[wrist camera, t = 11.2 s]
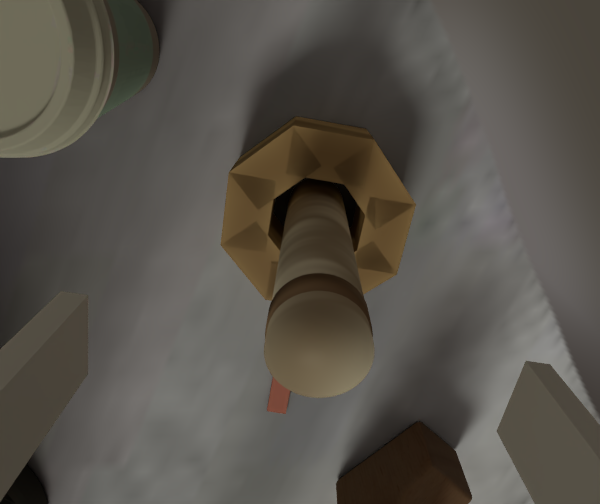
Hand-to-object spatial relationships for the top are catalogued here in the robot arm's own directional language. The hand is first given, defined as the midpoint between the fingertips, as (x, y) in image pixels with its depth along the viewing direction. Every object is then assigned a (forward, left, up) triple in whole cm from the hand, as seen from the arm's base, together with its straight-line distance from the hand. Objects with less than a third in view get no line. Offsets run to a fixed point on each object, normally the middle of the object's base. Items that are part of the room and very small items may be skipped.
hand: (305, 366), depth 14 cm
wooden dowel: (0, 0, -17) cm, 17 cm away
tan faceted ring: (0, 0, -17) cm, 16 cm away
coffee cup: (-13, +7, -17) cm, 22 cm away
